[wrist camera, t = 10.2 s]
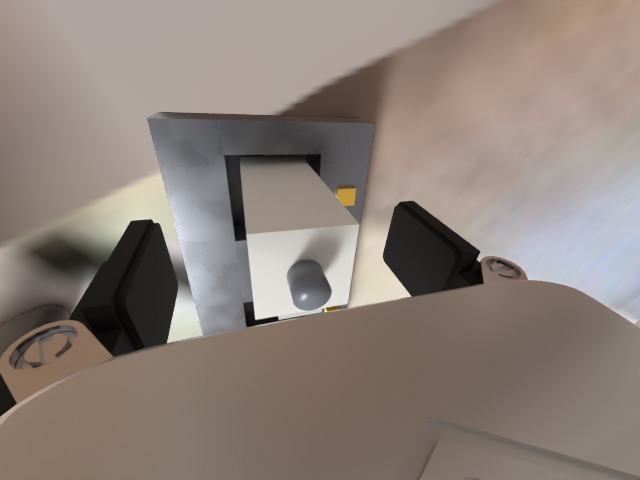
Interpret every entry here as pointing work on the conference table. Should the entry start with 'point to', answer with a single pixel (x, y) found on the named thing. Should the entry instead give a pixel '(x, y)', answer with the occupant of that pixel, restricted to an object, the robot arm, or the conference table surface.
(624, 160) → the conference table surface
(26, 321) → the leaning round-cornered charcoal block
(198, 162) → the panel
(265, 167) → the plug
